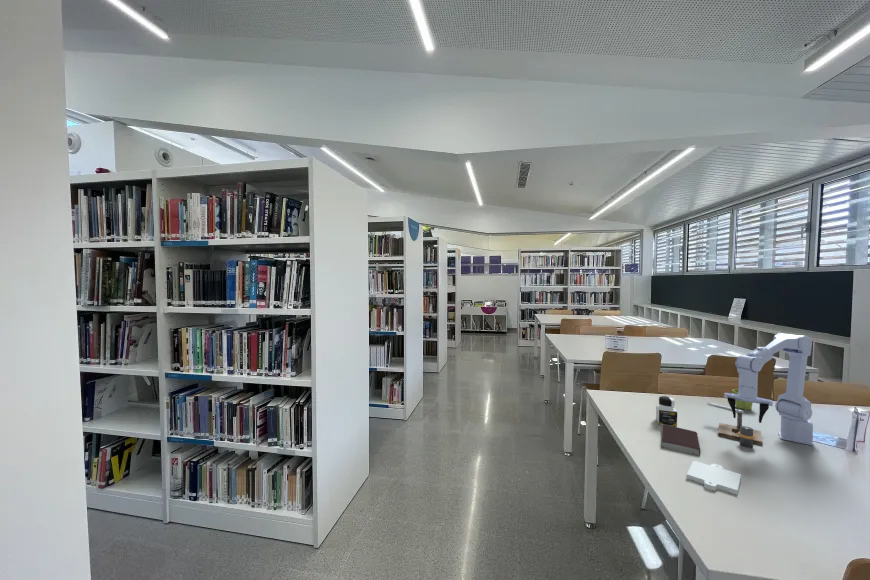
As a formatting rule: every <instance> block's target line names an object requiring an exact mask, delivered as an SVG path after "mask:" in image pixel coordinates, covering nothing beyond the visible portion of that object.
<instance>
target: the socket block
mask: <svg viewBox="0 0 870 580" xmlns="http://www.w3.org/2000/svg"><path fill="white" fill-rule="evenodd" d="M736 415H737V416H736V425H733V424H729V423H722V422H718V432H717V436H718V435H719V436H718V437H721V436H723V437H722V438H726V437H727V439H730V438H731V440H735V441H739V442H740V436H738V432H740V426H743V414H739V413H736ZM735 432H736V433H735ZM753 435H755V439H753V445H757V446H758V445H759V446H762V447H763V442H764V441H763V436H762V431H761V430H757V429H753Z"/></svg>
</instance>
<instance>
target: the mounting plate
mask: <svg viewBox="0 0 870 580" xmlns="http://www.w3.org/2000/svg"><path fill="white" fill-rule="evenodd" d="M685 476H686V478H688V479H687V480H689V479H691V480H690V481H692V480H694V481H693V482H695V481H698V482H700V483H699V484H701V483H703V484H704V485H703V484H702V485H703V487H704V488H705V489H706V488H707V489H706V490H709V489H711V490H710V491H712V490H716V489H717V490H719V489H721V490H720V491H723V490H724V491H723V492H726V491H727V492H726V493H729V492H730V494H732V493H733V495H735V494H736V495H735V496H738V494H739V489H740V485H741V481H742V474H741V473H738V472H735V471H734V472H733V471H732V470H727V469H725V468H723V466H722V465H720V464H717V463H711V464H708V463H703V462H700V461H696V460H693V461H692V463H691V465H690V466H689V468H688V470H687V472H686V475H685ZM698 482H697V483H698ZM717 490H716V491H717Z"/></svg>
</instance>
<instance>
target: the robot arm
mask: <svg viewBox="0 0 870 580" xmlns="http://www.w3.org/2000/svg"><path fill="white" fill-rule="evenodd" d="M812 347H813V341H812V340H811V338H810V337H809V336H808V335H800V334H799V335H797V334H791V333H784V332H778V333H777V334H774V335H773V340H771V342H769V343H768V344H767V345H765V346H757V347H756V348H755V349H753V350H752V351H751V352H749V353H747V354H745V355H744V354H741V355H739V356H737V358H736V360H735V361H734V363H735V367H736V371H737V373H738V389H739V391H738V394H734V393H729V392H724V394H723V395H724V397H723V398H724V399H726V400H727V403H728V404H729V406H730V408H731V409H732V411H731V412H732V416H733V417H732V418H734V419H737V416H736V415H737V413H736V411H735V409H736V403H735V401H736V400H740V401H746V402H752V404H754V403H755V404H759V414H758V423H760V424H762V422H763V421H762V420H763V417H764V416H765V414H766V413H767V411H768V410H769V408H770V407H773V406H774V405H773V404H774V403H773V400H772V399H768V398H767V399H766V398H762V397H758V389H759V387H758V384H759V383H758V382H759V381H758V380H759V372H761V370H762V369H763V367H764V365H765V364H766V363H768V362H769V361H771V360H772V359H773V358H774V357H773V356H774V354H776V353H778V352H780V351H783V352H784V353H786V354H787V355H788V357H789V359H788V360H789V361H788V362H789V363H788V368H787V369H788V370H787V379H786V387H785V393H781V394H779V395H778V397H777V400H776V402H775V406H774V407H775V410H776V411H777V413H778V415H779V416H780V431H779V432H778V437H779V439H780V440H785V441H789V442H794V443H799V444H805V445H810V446H813V445H814V444H813V443H814V442H813V440H814V435H813V433H814V427H813V425H814V423H813V421H811V420H810V419H811V418H812V416H813V410H812V402H811V401H810V400H808V399H807V398H806V397H805V396H804V390H805V381H806V374H807V365H808V364H807V363H808V357H810V356H811V355H812Z"/></svg>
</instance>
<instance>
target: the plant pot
mask: <svg viewBox="0 0 870 580" xmlns="http://www.w3.org/2000/svg"><path fill="white" fill-rule="evenodd" d="M738 391H739V388H738V389H737V388H735V389H732V390H731V392H732V394H738ZM735 408H736V409H737V408H738V409H741V410H743V411H745V410H746V411H750V410H752V408H753V403H752V402H746V401H740V400H736V401H735Z"/></svg>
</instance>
